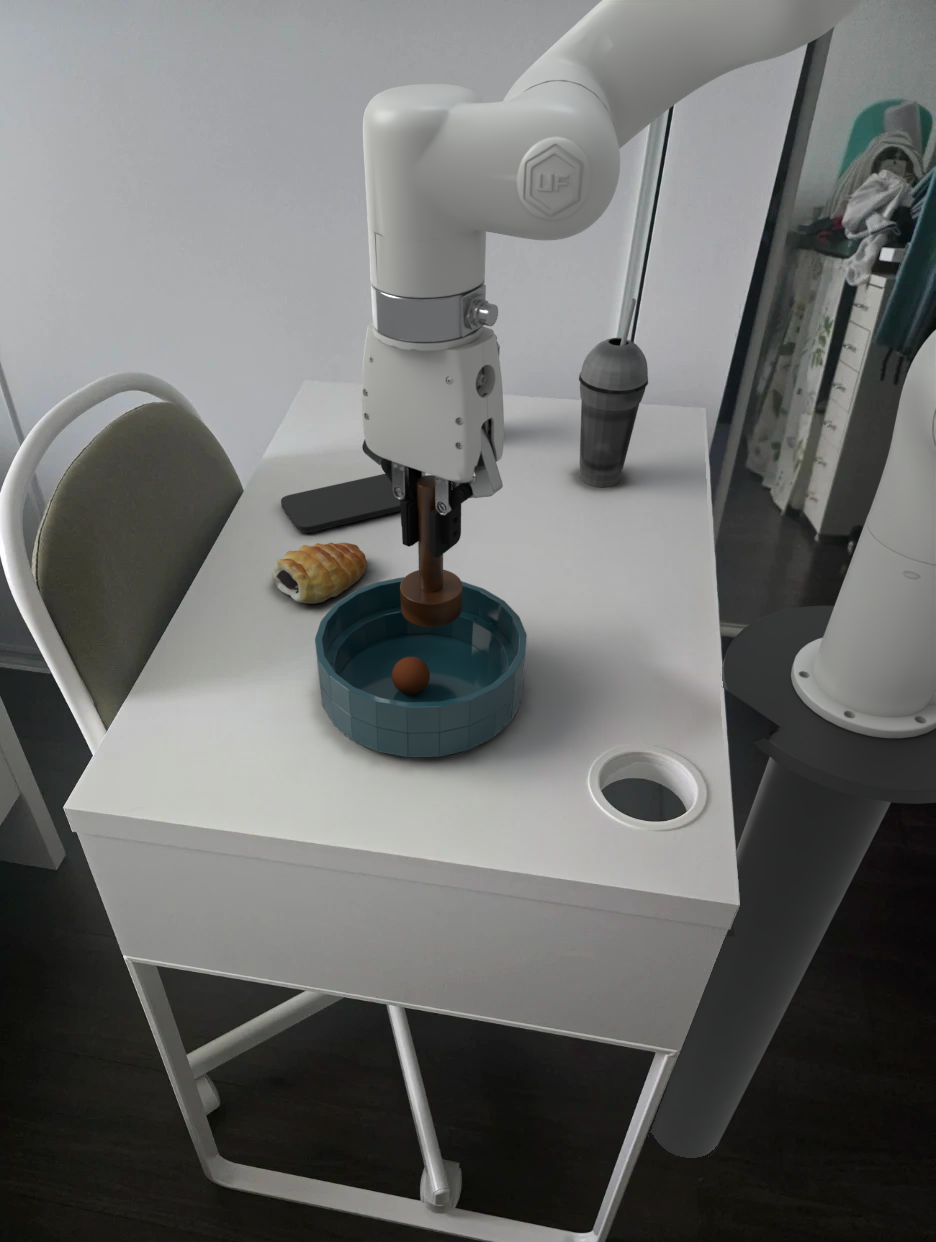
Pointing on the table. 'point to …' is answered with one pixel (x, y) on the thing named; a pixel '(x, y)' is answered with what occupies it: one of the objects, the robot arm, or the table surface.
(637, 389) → the beverage cup
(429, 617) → the wooden knob stand
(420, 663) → the meatball
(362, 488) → the phone
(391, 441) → the robot arm
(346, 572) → the pastry
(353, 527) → the table surface
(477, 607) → the bowl
